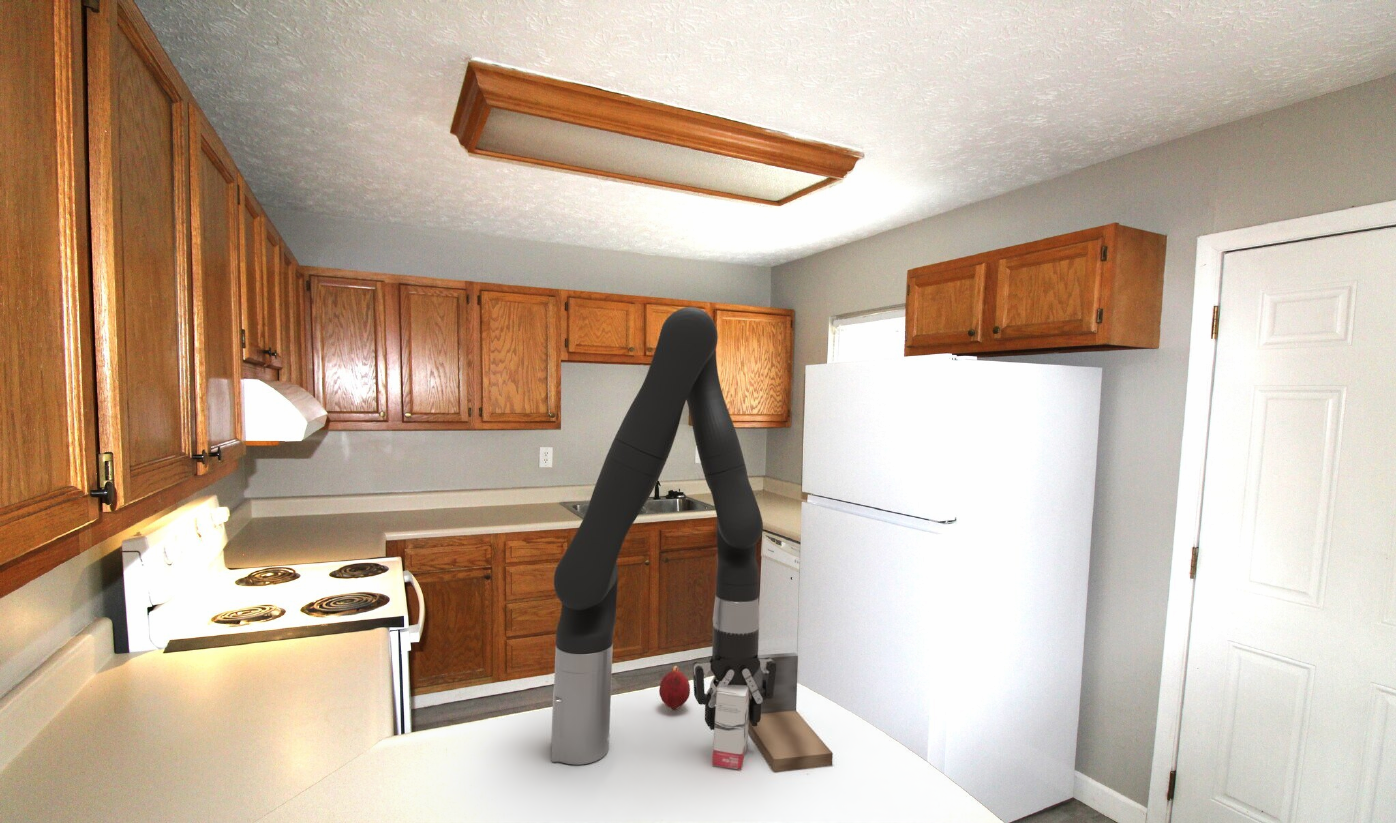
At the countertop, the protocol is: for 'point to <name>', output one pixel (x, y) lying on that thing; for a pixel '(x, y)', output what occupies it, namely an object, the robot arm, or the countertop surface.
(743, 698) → the ink box
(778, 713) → the shelf board
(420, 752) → the countertop surface
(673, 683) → the onion
